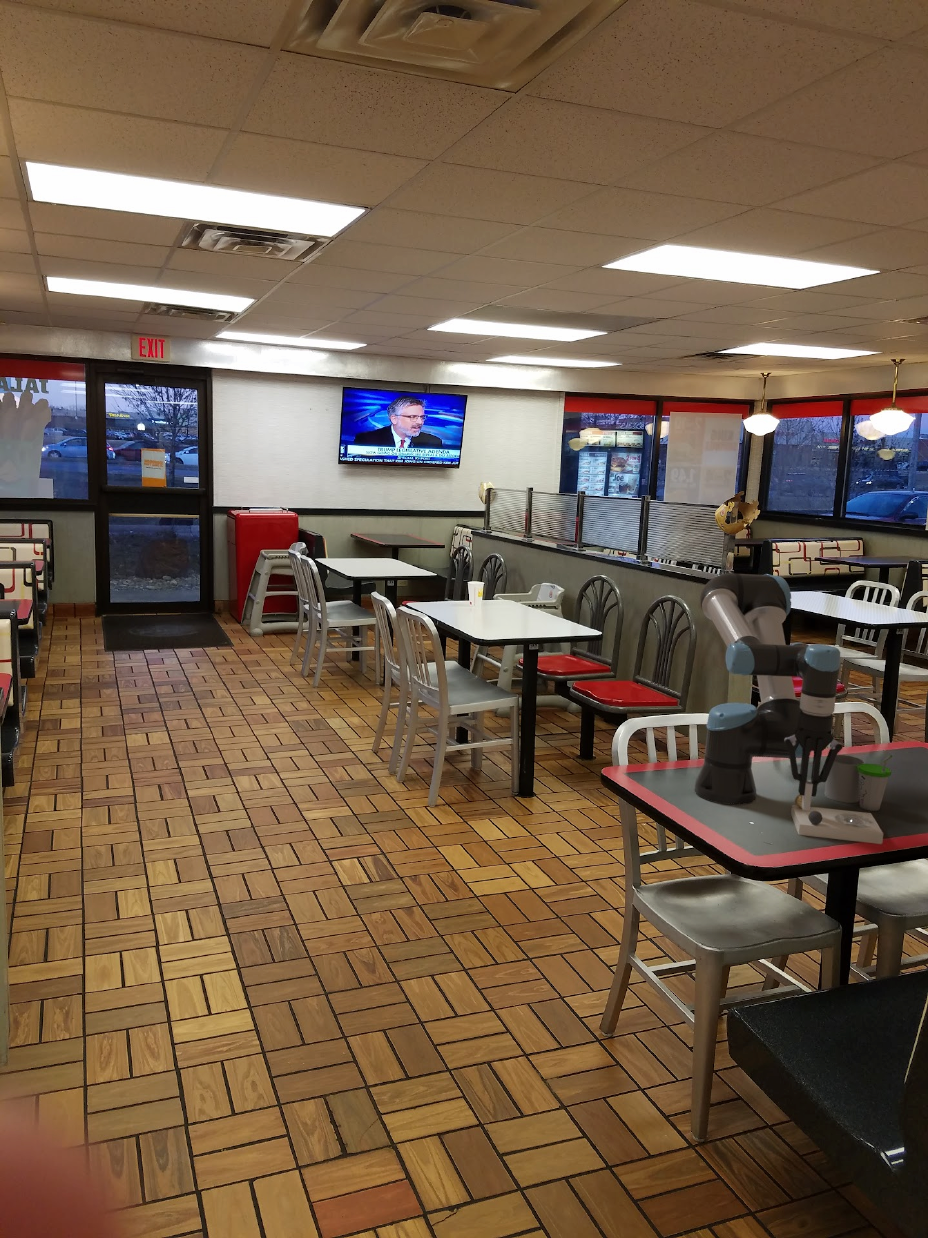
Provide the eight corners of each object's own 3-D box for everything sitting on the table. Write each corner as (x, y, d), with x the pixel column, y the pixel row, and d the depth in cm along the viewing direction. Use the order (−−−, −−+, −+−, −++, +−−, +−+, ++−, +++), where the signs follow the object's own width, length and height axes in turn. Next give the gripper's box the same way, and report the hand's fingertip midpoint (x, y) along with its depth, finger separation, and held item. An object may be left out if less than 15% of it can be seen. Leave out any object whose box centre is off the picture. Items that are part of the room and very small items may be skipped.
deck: (798, 834, 214) (799, 824, 213) (791, 814, 226) (792, 804, 226) (882, 844, 210) (883, 833, 210) (869, 823, 223) (870, 813, 222)
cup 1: (860, 795, 243) (864, 758, 241) (858, 805, 235) (863, 767, 234) (825, 789, 246) (829, 752, 244) (823, 798, 239) (827, 761, 237)
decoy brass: (795, 809, 223) (796, 796, 222) (793, 804, 226) (794, 791, 225) (810, 811, 222) (811, 797, 221) (808, 806, 225) (809, 793, 225)
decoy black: (808, 825, 213) (810, 813, 213) (806, 820, 216) (808, 808, 215) (822, 827, 212) (824, 814, 212) (820, 822, 215) (821, 809, 215)
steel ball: (859, 834, 215) (846, 826, 216) (856, 834, 218) (843, 827, 219) (865, 821, 215) (852, 814, 216) (862, 822, 218) (849, 815, 219)
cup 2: (847, 801, 237) (854, 745, 235) (878, 803, 237) (885, 746, 235) (859, 813, 229) (866, 754, 227) (891, 814, 229) (899, 756, 227)
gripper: (789, 713, 213) (778, 811, 217) (849, 719, 210) (837, 817, 215) (784, 705, 220) (774, 799, 224) (843, 710, 218) (831, 805, 222)
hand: (805, 808), depth 219 cm, fingers closed
